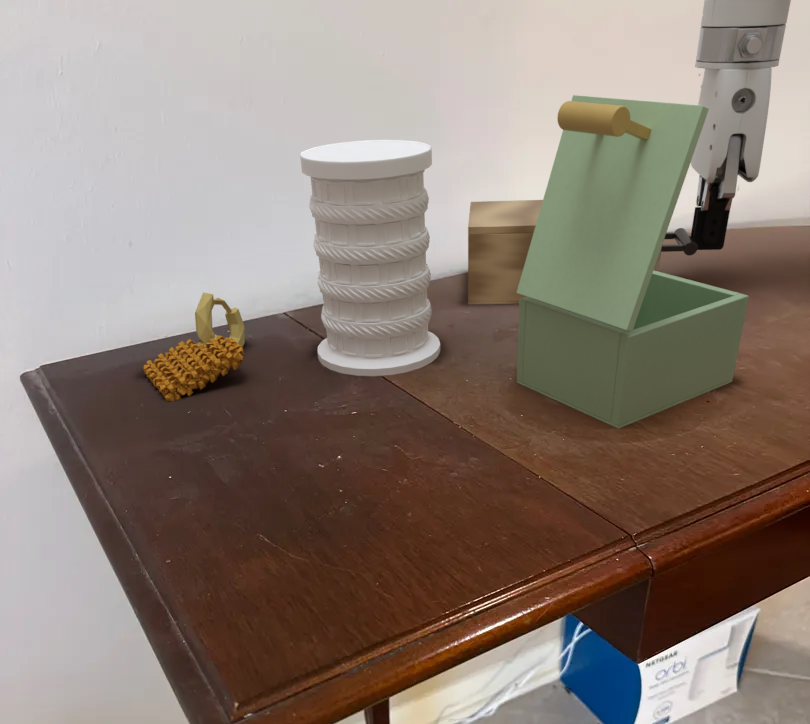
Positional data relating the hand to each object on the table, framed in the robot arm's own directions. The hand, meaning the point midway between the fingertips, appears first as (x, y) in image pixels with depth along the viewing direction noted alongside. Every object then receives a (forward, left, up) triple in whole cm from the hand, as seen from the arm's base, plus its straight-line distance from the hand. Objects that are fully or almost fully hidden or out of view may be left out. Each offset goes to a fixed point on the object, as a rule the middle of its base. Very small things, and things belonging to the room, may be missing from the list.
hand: (706, 247), depth 87 cm
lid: (+20, +26, +10) cm, 34 cm away
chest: (+16, +24, -5) cm, 30 cm away
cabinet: (+18, -3, -5) cm, 19 cm away
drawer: (+10, -2, -4) cm, 11 cm away
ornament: (+52, +14, -5) cm, 54 cm away
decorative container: (+36, +13, -5) cm, 39 cm away
